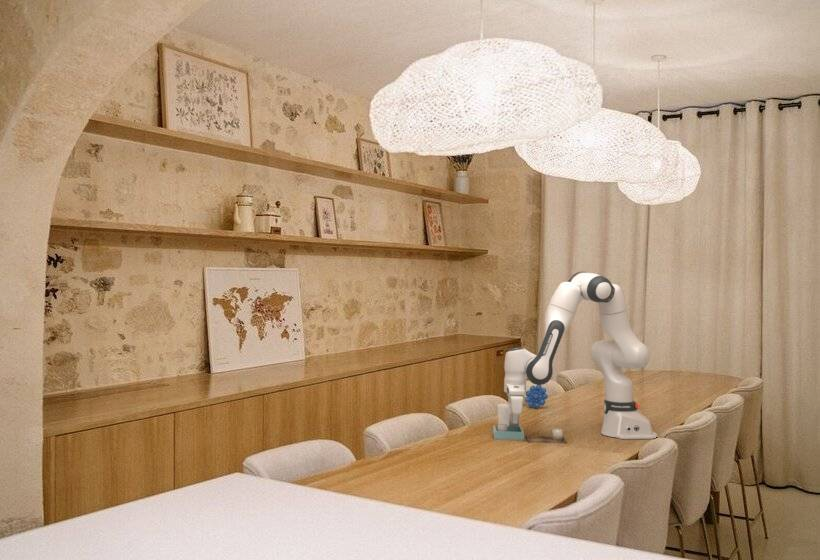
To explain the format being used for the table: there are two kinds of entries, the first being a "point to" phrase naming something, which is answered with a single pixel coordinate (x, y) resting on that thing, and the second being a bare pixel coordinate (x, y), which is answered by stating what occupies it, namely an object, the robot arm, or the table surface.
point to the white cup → (503, 413)
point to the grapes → (536, 396)
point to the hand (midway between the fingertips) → (514, 422)
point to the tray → (544, 439)
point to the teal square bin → (509, 433)
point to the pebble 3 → (556, 434)
